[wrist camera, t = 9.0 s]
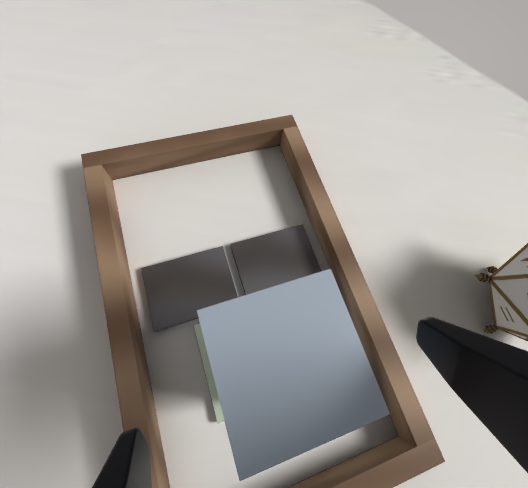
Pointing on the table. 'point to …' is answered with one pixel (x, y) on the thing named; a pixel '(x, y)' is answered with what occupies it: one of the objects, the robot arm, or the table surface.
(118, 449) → the robot arm
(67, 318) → the table surface
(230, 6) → the table surface
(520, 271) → the game die
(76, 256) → the table surface
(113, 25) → the table surface
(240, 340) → the slate-blue block
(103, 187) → the frame
